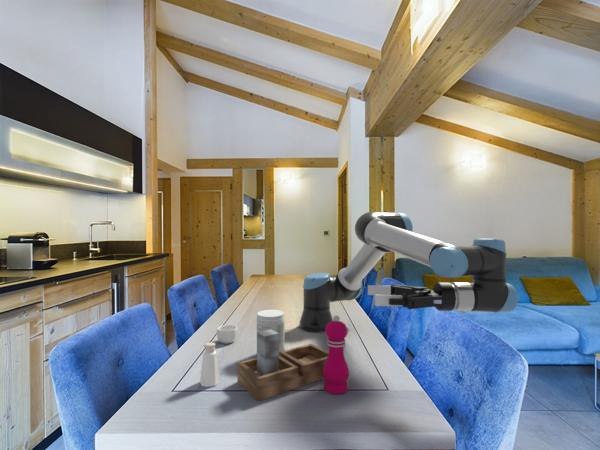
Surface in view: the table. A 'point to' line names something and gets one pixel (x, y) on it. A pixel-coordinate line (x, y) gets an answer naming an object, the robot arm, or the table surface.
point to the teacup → (227, 333)
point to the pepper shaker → (209, 366)
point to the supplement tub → (272, 324)
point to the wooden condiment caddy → (280, 367)
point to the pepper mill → (336, 358)
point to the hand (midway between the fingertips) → (371, 294)
